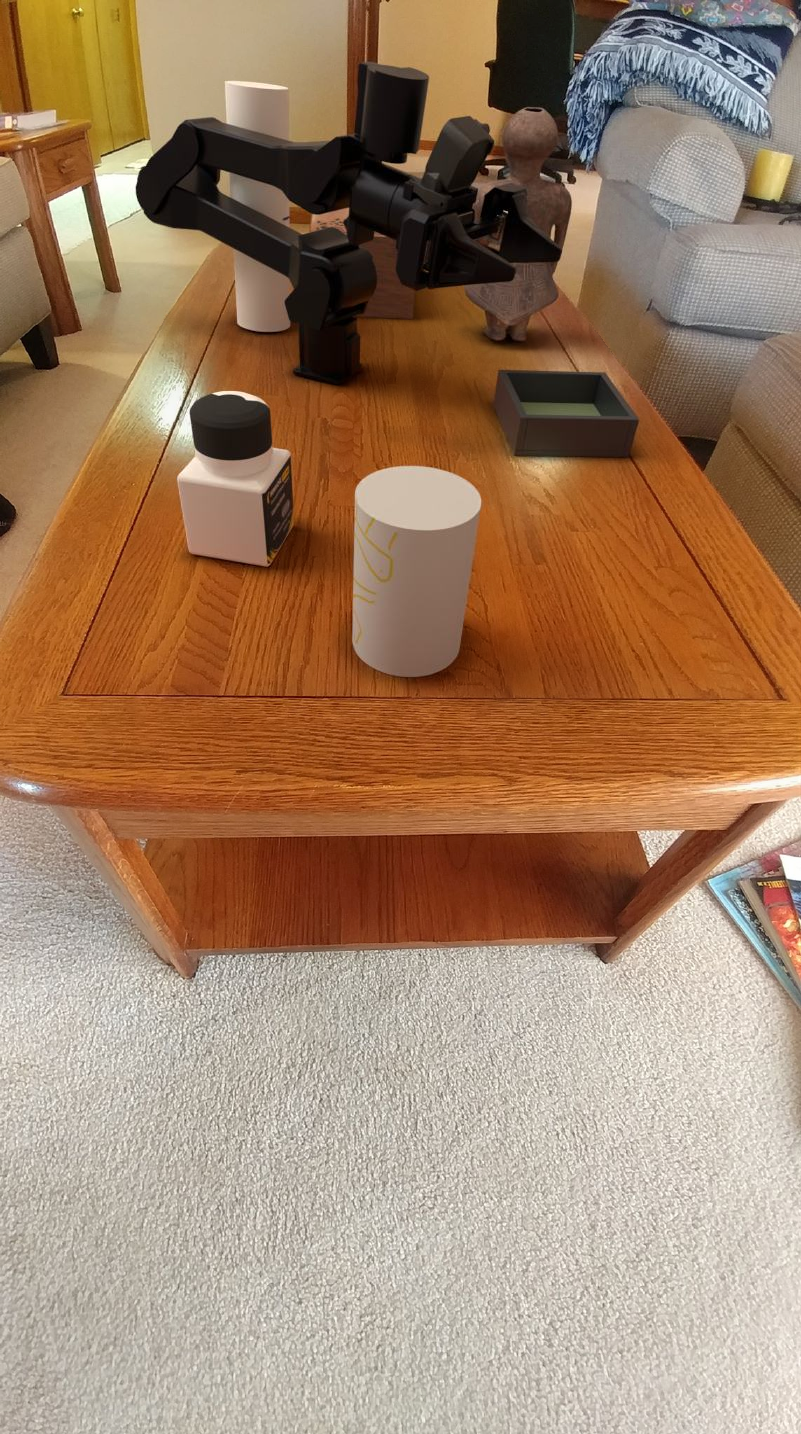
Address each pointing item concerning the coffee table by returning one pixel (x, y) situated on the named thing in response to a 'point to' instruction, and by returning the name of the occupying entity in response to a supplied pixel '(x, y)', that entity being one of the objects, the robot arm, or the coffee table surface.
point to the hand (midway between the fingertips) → (538, 264)
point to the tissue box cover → (389, 290)
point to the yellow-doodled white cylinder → (412, 567)
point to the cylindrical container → (259, 205)
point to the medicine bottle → (235, 481)
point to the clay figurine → (547, 205)
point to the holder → (564, 414)
